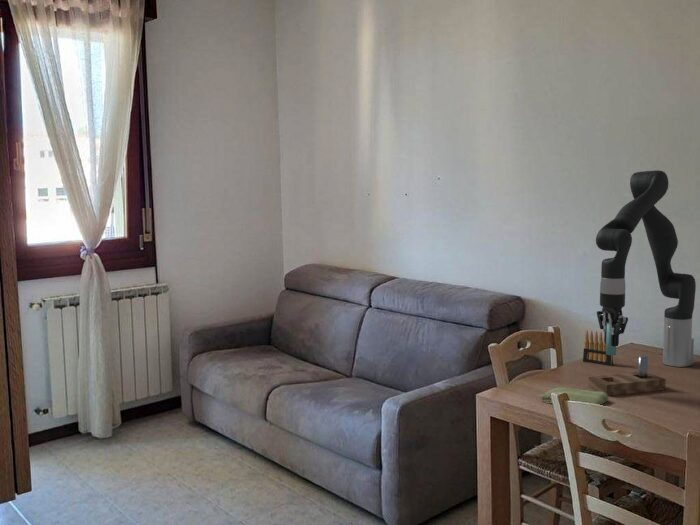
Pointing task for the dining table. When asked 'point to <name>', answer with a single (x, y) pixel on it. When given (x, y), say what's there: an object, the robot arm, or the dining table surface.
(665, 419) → the dining table surface
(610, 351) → the teal peg
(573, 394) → the washcloth
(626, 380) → the hole block
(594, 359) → the ammunition clip
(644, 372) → the steel peg
